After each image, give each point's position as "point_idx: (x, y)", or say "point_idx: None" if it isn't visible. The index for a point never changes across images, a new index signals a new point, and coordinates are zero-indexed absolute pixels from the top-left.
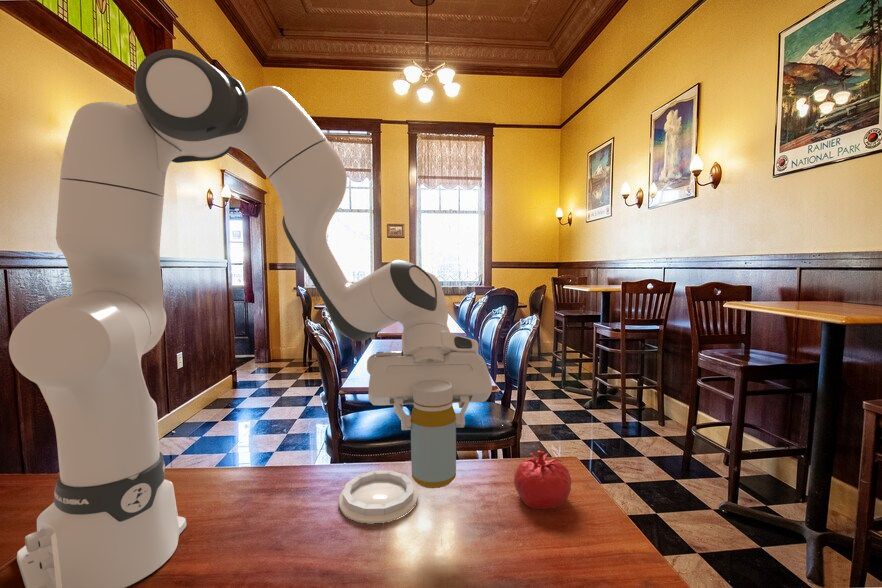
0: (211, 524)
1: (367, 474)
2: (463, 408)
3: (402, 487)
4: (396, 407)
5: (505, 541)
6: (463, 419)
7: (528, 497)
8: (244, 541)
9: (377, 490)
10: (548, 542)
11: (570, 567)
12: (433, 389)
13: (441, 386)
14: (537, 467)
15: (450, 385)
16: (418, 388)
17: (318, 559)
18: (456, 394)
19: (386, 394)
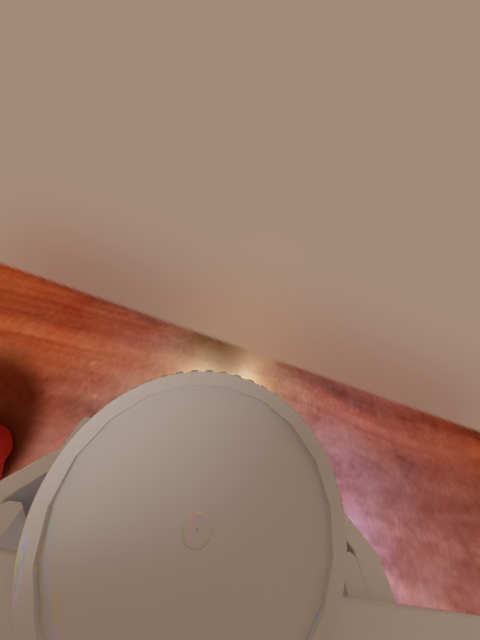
0: None
1: None
2: (41, 468)
3: None
4: (362, 538)
5: (109, 375)
6: (81, 426)
7: (3, 433)
8: (448, 491)
9: None
10: (52, 353)
11: (63, 306)
12: (218, 441)
13: (135, 497)
14: None
15: (61, 477)
16: (313, 501)
17: (351, 420)
18: (11, 551)
19: (464, 621)
